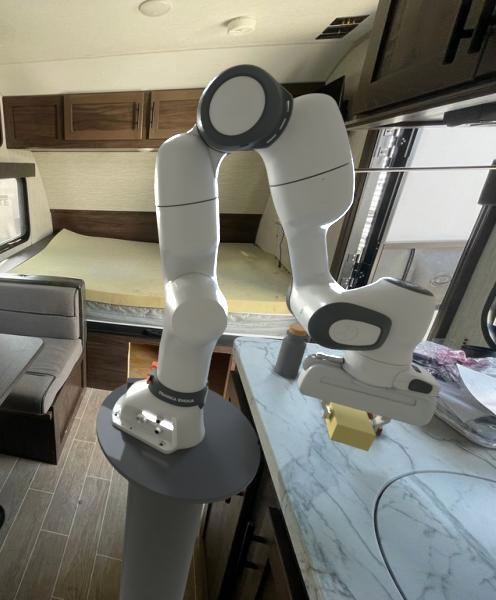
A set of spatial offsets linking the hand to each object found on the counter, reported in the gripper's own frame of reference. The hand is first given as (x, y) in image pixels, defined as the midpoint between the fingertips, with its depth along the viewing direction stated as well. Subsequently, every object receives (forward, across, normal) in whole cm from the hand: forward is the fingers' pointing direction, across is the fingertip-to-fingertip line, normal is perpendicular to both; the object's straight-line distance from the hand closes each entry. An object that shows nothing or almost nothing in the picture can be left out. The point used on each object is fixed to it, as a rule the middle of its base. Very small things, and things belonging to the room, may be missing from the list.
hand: (347, 423), depth 64 cm
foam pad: (+2, 0, 0) cm, 2 cm away
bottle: (+9, -7, +29) cm, 31 cm away
